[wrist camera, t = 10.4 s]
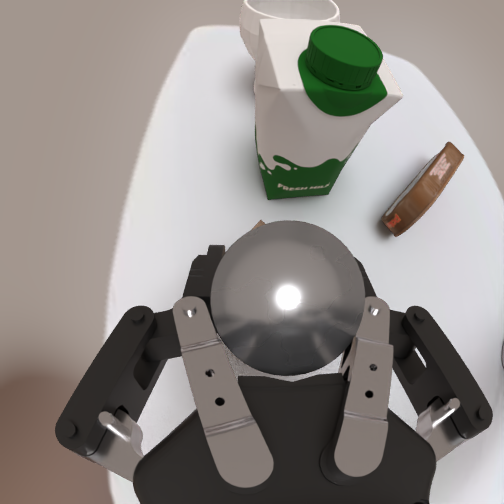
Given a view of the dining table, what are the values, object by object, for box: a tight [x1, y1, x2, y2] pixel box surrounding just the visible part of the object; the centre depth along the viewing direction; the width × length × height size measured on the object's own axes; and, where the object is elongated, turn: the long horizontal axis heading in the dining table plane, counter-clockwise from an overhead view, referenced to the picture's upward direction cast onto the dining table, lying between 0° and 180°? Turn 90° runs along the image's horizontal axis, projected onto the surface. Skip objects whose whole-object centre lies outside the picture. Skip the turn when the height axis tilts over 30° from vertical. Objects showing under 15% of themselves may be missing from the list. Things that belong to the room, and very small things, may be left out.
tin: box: [382, 142, 464, 237], centre depth 26 cm, size 15×3×8 cm, turn 132°
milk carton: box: [255, 19, 403, 200], centre depth 20 cm, size 9×9×20 cm
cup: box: [239, 0, 340, 93], centre depth 25 cm, size 11×11×15 cm
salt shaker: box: [210, 221, 365, 376], centre depth 13 cm, size 5×5×9 cm
